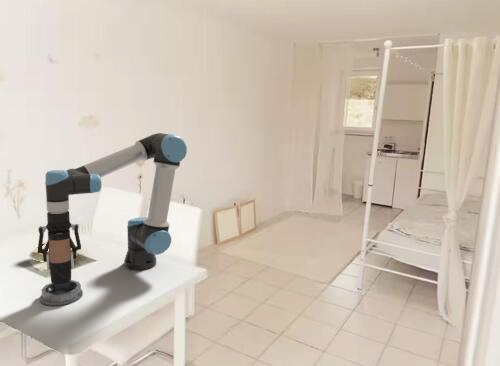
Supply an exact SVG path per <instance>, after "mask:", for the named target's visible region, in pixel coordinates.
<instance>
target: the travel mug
mask: <svg viewBox="0 0 500 366" xmlns="http://www.w3.org/2000/svg"><path fill="white" fill-rule="evenodd" d="M69 237H71V231H70V229H69V230H68V232H67V233H64V234H63V233H56V234H51V233H50V232H48V231H47V241H48V240H49V248H48V249H49V264H50V270H49V273H50V283H53V284H64V283H67V282H69V281H70V280H72V268H71V250H72V248H71V247H70V238H69Z"/></svg>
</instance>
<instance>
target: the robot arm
mask: <svg viewBox="0 0 500 366" xmlns="http://www.w3.org/2000/svg"><path fill="white" fill-rule="evenodd" d="M187 148H188V147H187V144H186V142H185V141H184V139H183V138H182V137H180V136H178V135H175V134H171V133H170V134H169V133H161V132H158V133H154V134H151V135H149V136H146V137H145V138H144V137H143V138H141V139H140V140H137V141H135V143H134V144H133V145H130V146H128V147H125V148H123V149H120V150H118V151H115V152H113V153H110V154H109V155H106V156H103V157H101V158H99V159H96V160H94V161H91V162H88V163H86V164H84V165H81V166H78V167H77V168H68V169H66V170H64V169H63V170H62V169H59V170H58V169H57V170H56V169H54V170H48V171H47V172H46V173H45V183H44V184H45V195H46V196H45V197H46V211H47V213H46V218H47V219H46V221H47V224H46V225H44V226H41V225H40V226H39V227H38V234H39V236H38V245H37V247H38V251H37V250H36V252H37V254H42V256H43V262H44V263H46V270H47V271H48V272H50V264H49V252H47V251H48V249H49V240H48V239H47V242H46V243H47V244H46V246H45V247H44V249H42V244H44V243H43V241H44V236H45V235H44V234H45V232H46V230H47V232H48V231H49V232H50V233H51V234H56V233H63V234H64V233H67V232H68V230H70V229H72V231H74V232H73V234H74V237H75V242H76V244H75V242H73V239H72V237H71V236H70V237H69V238H70V247H71V269H74V267H75V265H74V263H75V262H74V260H76V259H77V258H78V257H77V251H79V250H80V251H81V249H82V243H81V240H80V234H79V224H78V223H76V224H72V223H71V218H70V199H69V198H70V195H71V196H72V195H85V194H94V193H99V192H100V191H101V189H102V179H101V178H103V177H106V176H107V175H109V174H112V173H115V172H116V171H119V170H121V169H124V168H126V167H128V166H130V165H133V164H135V163H137V162H140V161H145V162H146V161H148V160H150V159H153V164H154V165H155V172H154V176H153V177H154V178H153V184H152V190H151V194H150V195H151V197H150V202H149V208H148V214H147V216H144V217H143V216H142V217H133V218H130V219H129V220H127V226H126V228H127V251H126V255H125V257H124V261H123V262H124V263H123V266H124V268H126V269H128V270H133V271H141V270H149V269H150V268H153V267H155V266H156V265H157V257H156V256H157V255H161V254H163V253H165V252H166V251H167V250H168V249H169V248H170V246H171V245H172V236H171V234H170V232H169V230H170V223H169V222H168V215H169V209H170V203H171V197H172V191H173V186H174V180H175V175H176V174H175V173H176V170H177V169H178V168H179V167H180V165H181V162H182V161H183V160H184V159H185V158H186V156H187V152H188V151H187Z"/></svg>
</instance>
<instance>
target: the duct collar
mask: <svg viewBox="0 0 500 366" xmlns="http://www.w3.org/2000/svg"><path fill="white" fill-rule="evenodd" d="M81 286H82V284H81V282H80V281H78V280H74V279H71V280H70V281H69V282H67V283H64V284H53V283H52V282H50V283H48V284H45V285H44V286H43V287H42V289H41V295H40V297H39V301H40V303H41V304H42V305H44V306H48V307H62V306H66V305H70V304H73V303H75V302H78V301H79V300H80V299H81V298H82V297H83V294H84V293H83V292H84V291H83V289H82V287H81Z"/></svg>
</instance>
